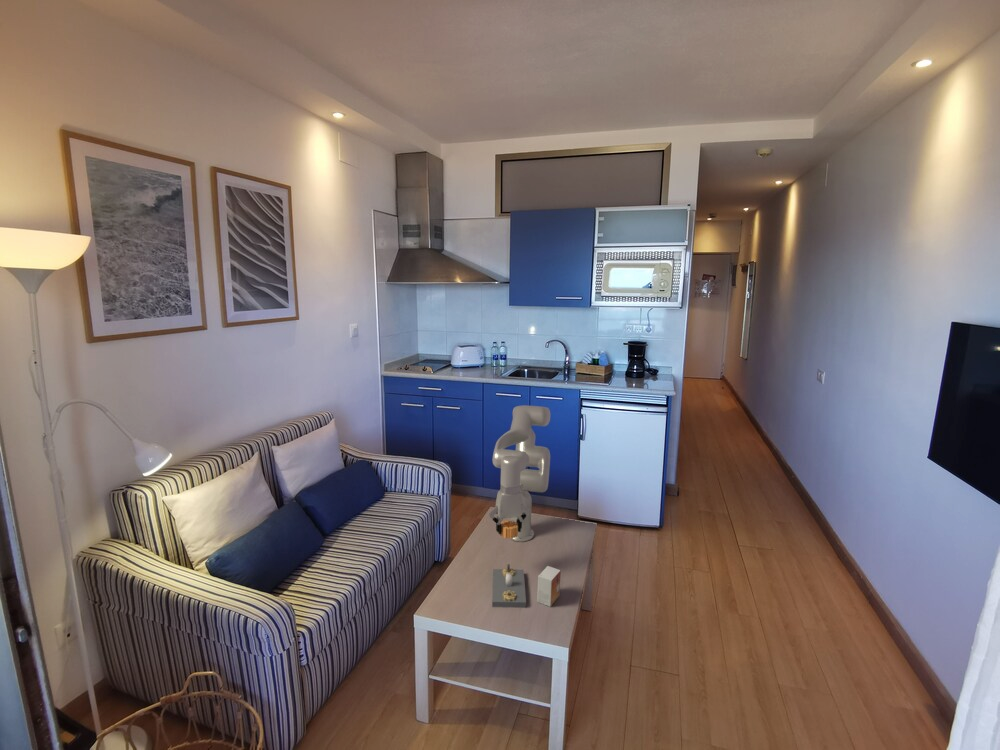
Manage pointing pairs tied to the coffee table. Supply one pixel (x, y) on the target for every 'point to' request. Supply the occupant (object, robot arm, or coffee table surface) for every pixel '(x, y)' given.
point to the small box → (548, 586)
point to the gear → (509, 529)
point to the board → (508, 588)
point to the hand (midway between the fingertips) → (508, 531)
